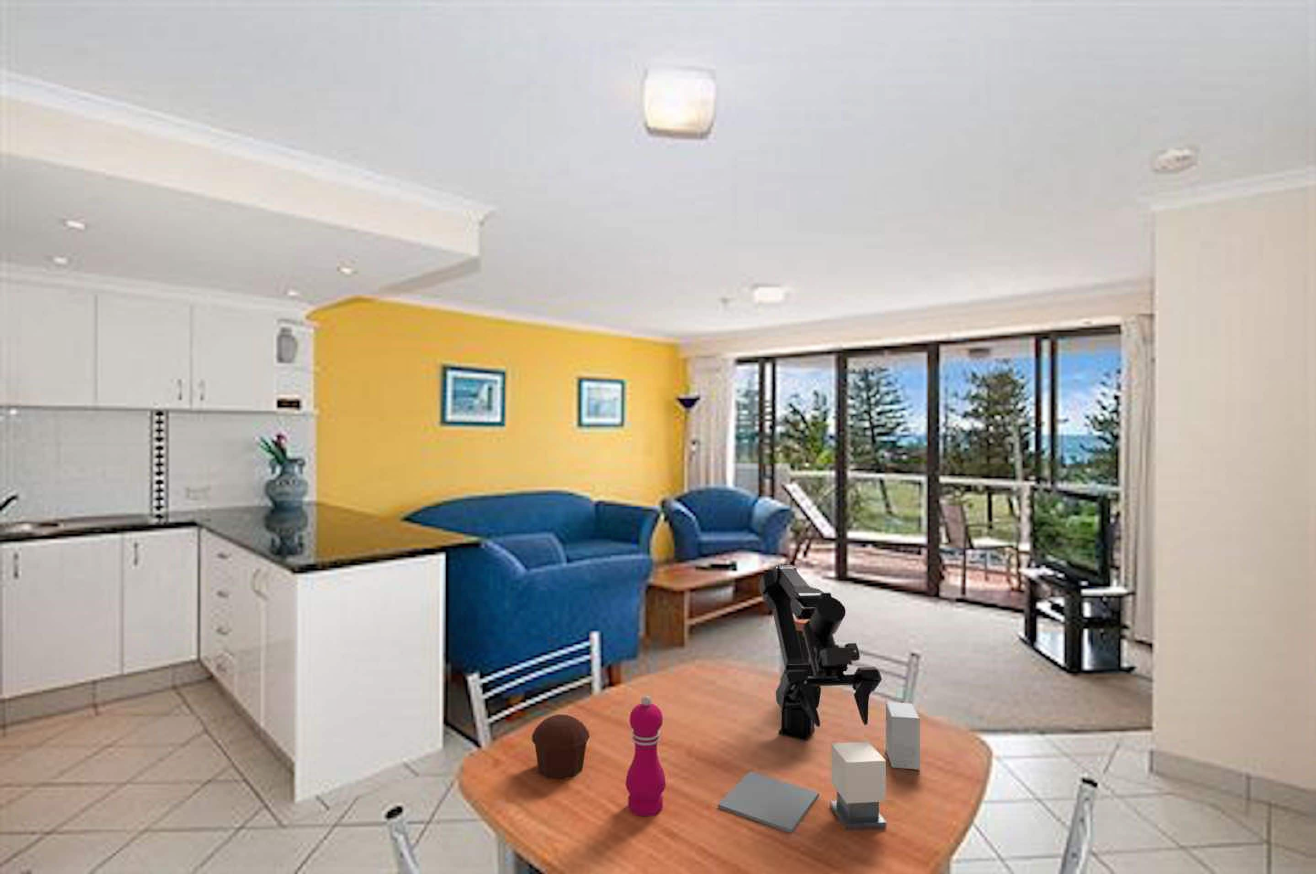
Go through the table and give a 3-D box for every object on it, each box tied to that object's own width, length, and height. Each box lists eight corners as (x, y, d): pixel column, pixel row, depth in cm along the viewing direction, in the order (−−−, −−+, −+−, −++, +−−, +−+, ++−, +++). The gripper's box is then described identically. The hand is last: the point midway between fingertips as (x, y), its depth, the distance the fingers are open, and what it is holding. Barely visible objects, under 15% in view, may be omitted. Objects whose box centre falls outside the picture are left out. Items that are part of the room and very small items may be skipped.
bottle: (795, 703, 164) (795, 624, 164) (785, 693, 171) (785, 617, 171) (820, 701, 165) (821, 623, 165) (809, 691, 172) (809, 616, 172)
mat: (717, 807, 117) (717, 804, 117) (750, 774, 129) (750, 771, 129) (791, 833, 110) (791, 829, 110) (818, 795, 122) (818, 792, 122)
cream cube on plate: (831, 782, 118) (831, 743, 118) (867, 780, 119) (868, 741, 119) (846, 803, 111) (846, 762, 111) (885, 801, 112) (885, 760, 112)
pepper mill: (624, 796, 121) (625, 688, 121) (663, 795, 121) (664, 687, 121) (626, 819, 113) (627, 704, 114) (667, 817, 114) (668, 703, 114)
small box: (920, 771, 131) (920, 718, 131) (890, 768, 132) (891, 716, 132) (912, 752, 139) (913, 703, 139) (885, 749, 140) (885, 700, 140)
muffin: (600, 763, 133) (600, 714, 133) (568, 788, 123) (568, 736, 123) (553, 750, 139) (554, 703, 139) (519, 773, 129) (519, 722, 129)
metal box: (830, 806, 118) (830, 762, 118) (868, 804, 119) (868, 760, 119) (845, 830, 111) (846, 783, 111) (886, 828, 111) (886, 781, 112)
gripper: (785, 628, 126) (804, 709, 115) (877, 626, 128) (904, 705, 117) (774, 656, 134) (790, 733, 123) (860, 653, 136) (884, 729, 125)
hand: (842, 725), depth 122 cm, fingers open, 9 cm apart
